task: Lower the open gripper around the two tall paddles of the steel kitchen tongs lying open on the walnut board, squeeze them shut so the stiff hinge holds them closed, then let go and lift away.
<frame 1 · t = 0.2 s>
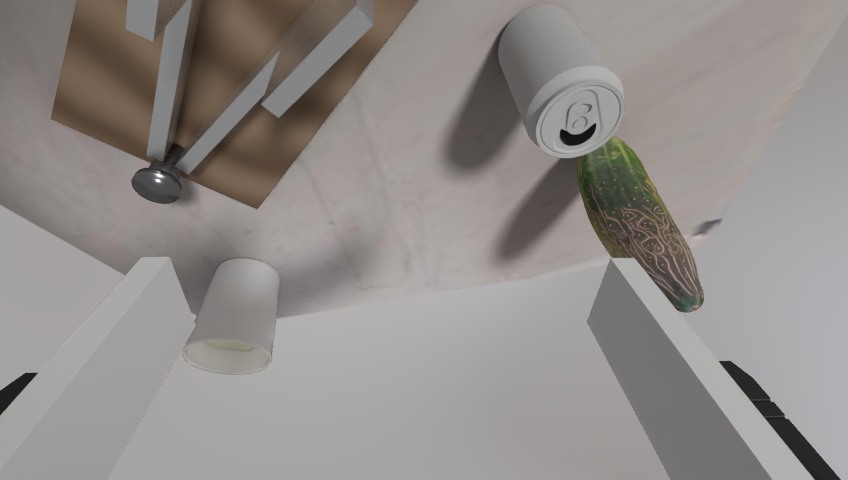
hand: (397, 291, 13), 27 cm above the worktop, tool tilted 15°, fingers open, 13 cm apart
vegetable: (590, 148, 43), on the worktop
beverage can: (533, 40, 34), on the worktop
tongs hinge post: (174, 153, 38), resting on walnut board
tongs arm 1: (164, 50, 25), point 7 cm above the worktop, hinge at 9.0°
tongs arm 2: (253, 101, 29), point 7 cm above the worktop, hinge at 9.0°
candle holder: (249, 274, 56), on the worktop
walnut board: (229, 45, 32), on the worktop
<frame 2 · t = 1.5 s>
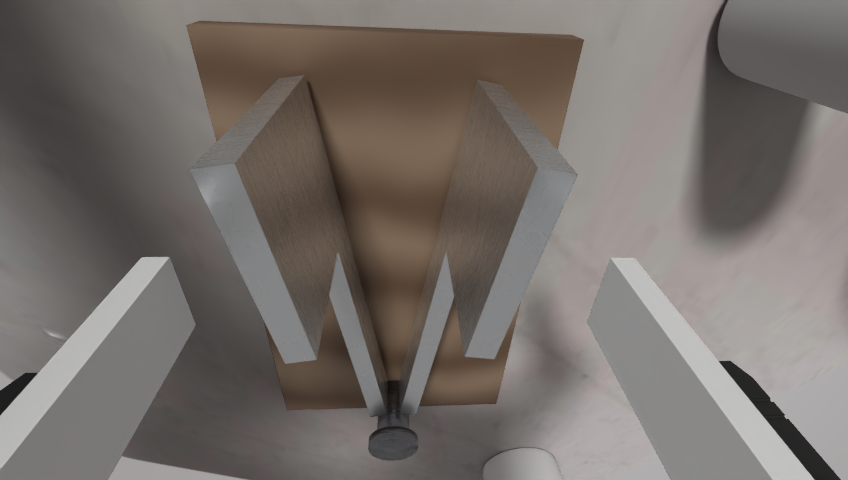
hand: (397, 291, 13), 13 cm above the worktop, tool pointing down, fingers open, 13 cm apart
beverage can: (771, 8, 20), on the worktop
tongs hinge post: (393, 389, 33), resting on walnut board
tongs arm 1: (338, 326, 21), point 7 cm above the worktop, hinge at 9.0°
tongs arm 2: (445, 325, 22), point 7 cm above the worktop, hinge at 9.0°
candle holder: (518, 464, 45), on the worktop
walnut board: (393, 263, 28), on the worktop
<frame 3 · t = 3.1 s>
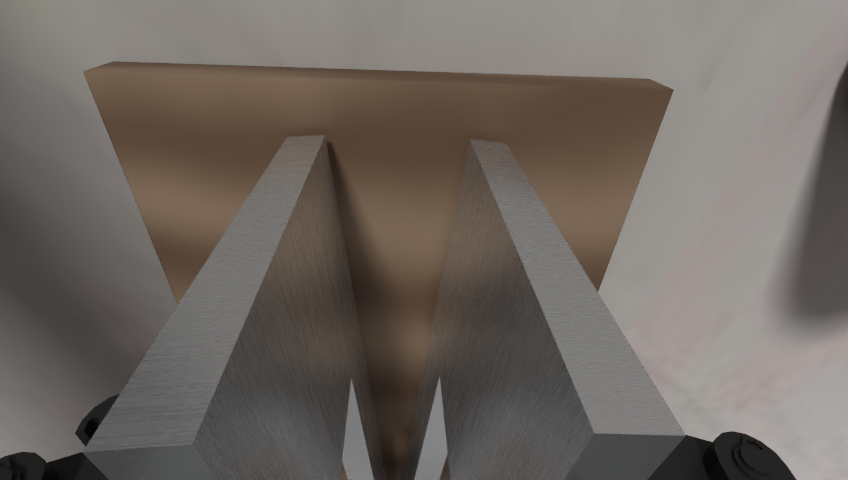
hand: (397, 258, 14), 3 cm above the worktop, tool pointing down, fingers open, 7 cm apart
tongs arm 2: (445, 477, 15), point 7 cm above the worktop, hinge at 5.3°, touching gripper
walnut board: (393, 357, 22), on the worktop
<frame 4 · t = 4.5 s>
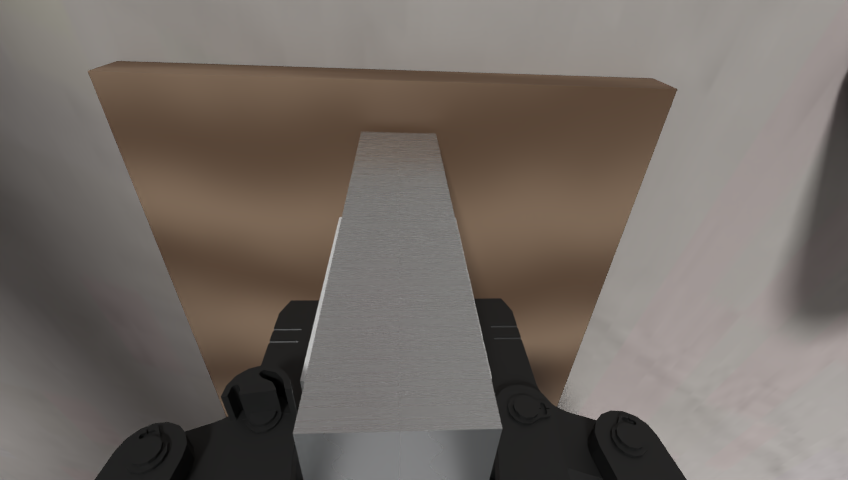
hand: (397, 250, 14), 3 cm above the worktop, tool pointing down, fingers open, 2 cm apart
tongs arm 1: (378, 476, 15), point 7 cm above the worktop, hinge at -0.5°, touching gripper, tongs arm 2
tongs arm 2: (413, 475, 15), point 7 cm above the worktop, hinge at -0.2°, touching gripper, tongs arm 1
walnut board: (396, 356, 22), on the worktop
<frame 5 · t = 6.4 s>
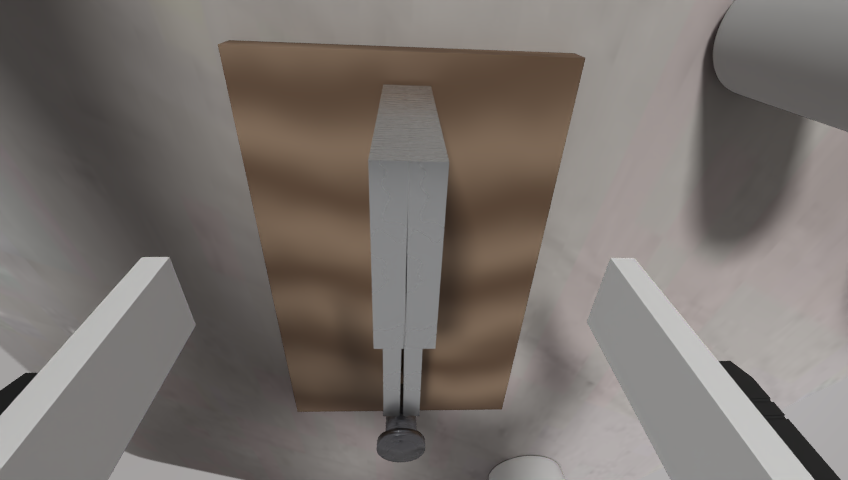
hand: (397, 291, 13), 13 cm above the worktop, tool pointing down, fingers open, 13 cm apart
beverage can: (763, 28, 21), on the worktop
tongs hinge post: (401, 392, 34), resting on walnut board
tongs arm 1: (391, 322, 22), point 7 cm above the worktop, hinge at -0.5°, touching tongs arm 2
tongs arm 2: (415, 322, 22), point 7 cm above the worktop, hinge at -0.2°, touching tongs arm 1
candle holder: (523, 472, 46), on the worktop
walnut board: (403, 269, 29), on the worktop
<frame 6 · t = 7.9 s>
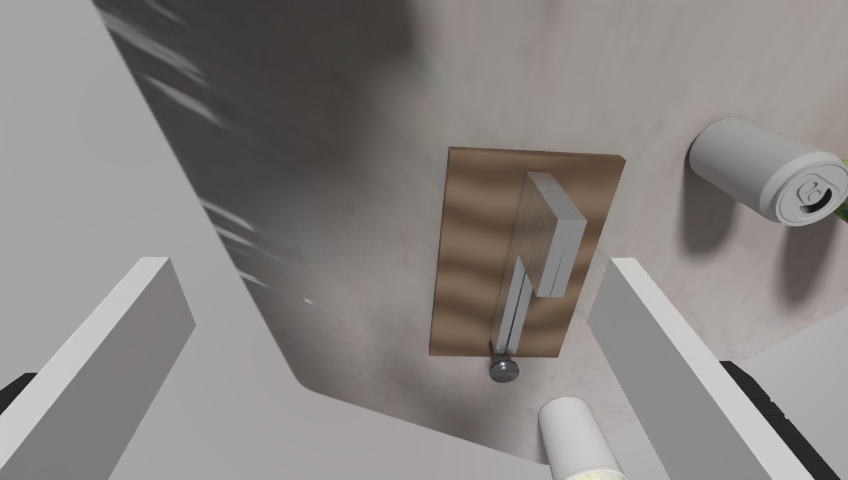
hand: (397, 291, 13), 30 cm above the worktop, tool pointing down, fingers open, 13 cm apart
vegetable: (822, 177, 45), on the worktop
beverage can: (715, 145, 42), on the worktop
tongs hinge post: (497, 343, 54), resting on walnut board
tongs arm 1: (521, 291, 43), point 7 cm above the worktop, hinge at -0.5°, touching tongs arm 2
tongs arm 2: (533, 291, 43), point 7 cm above the worktop, hinge at -0.2°, touching tongs arm 1
candle holder: (562, 411, 66), on the worktop
walnut board: (510, 265, 49), on the worktop
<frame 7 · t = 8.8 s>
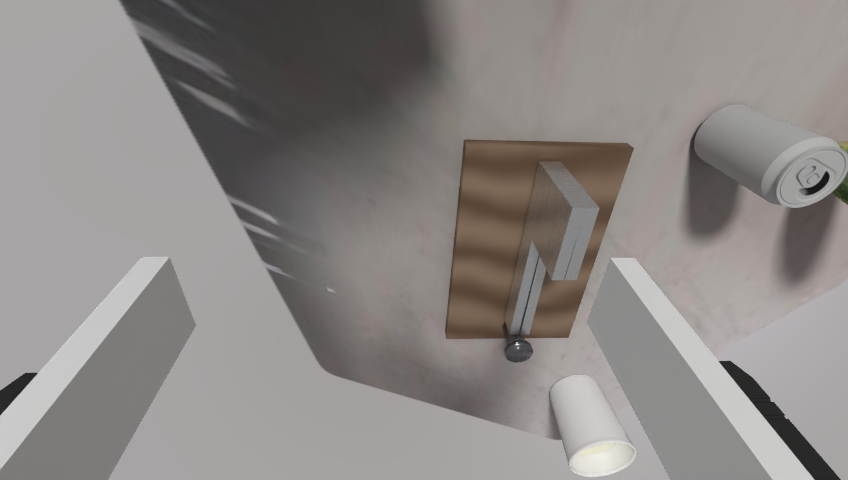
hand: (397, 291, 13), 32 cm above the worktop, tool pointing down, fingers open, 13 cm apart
vegetable: (822, 159, 47), on the worktop
beverage can: (718, 131, 44), on the worktop
tongs hinge post: (510, 325, 57), resting on walnut board
tongs arm 1: (535, 275, 45), point 7 cm above the worktop, hinge at -0.5°, touching tongs arm 2
tongs arm 2: (547, 275, 45), point 7 cm above the worktop, hinge at -0.2°, touching tongs arm 1
candle holder: (572, 388, 69), on the worktop
walnut board: (522, 250, 52), on the worktop
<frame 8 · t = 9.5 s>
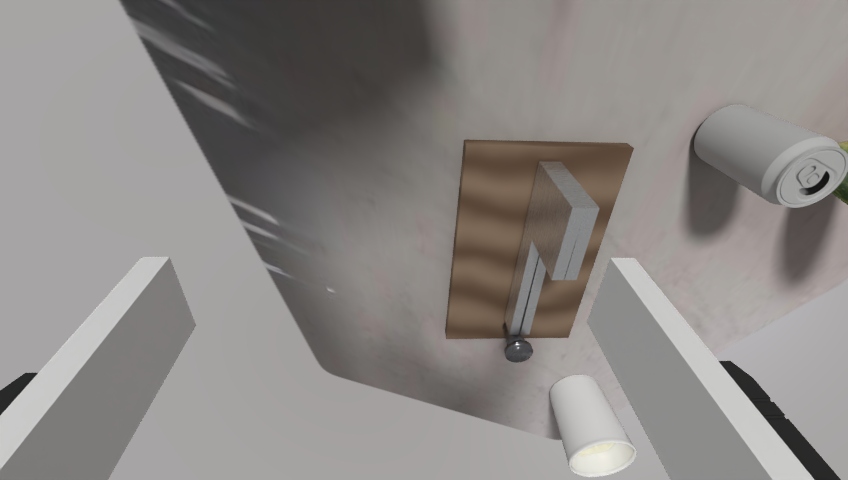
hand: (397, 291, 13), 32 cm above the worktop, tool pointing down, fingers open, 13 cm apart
vegetable: (822, 159, 47), on the worktop
beverage can: (718, 131, 44), on the worktop
tongs hinge post: (510, 325, 57), resting on walnut board
tongs arm 1: (535, 275, 45), point 7 cm above the worktop, hinge at -0.5°, touching tongs arm 2
tongs arm 2: (547, 275, 45), point 7 cm above the worktop, hinge at -0.2°, touching tongs arm 1
candle holder: (572, 388, 69), on the worktop
walnut board: (523, 250, 52), on the worktop
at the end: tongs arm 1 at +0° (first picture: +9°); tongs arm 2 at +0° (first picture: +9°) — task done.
